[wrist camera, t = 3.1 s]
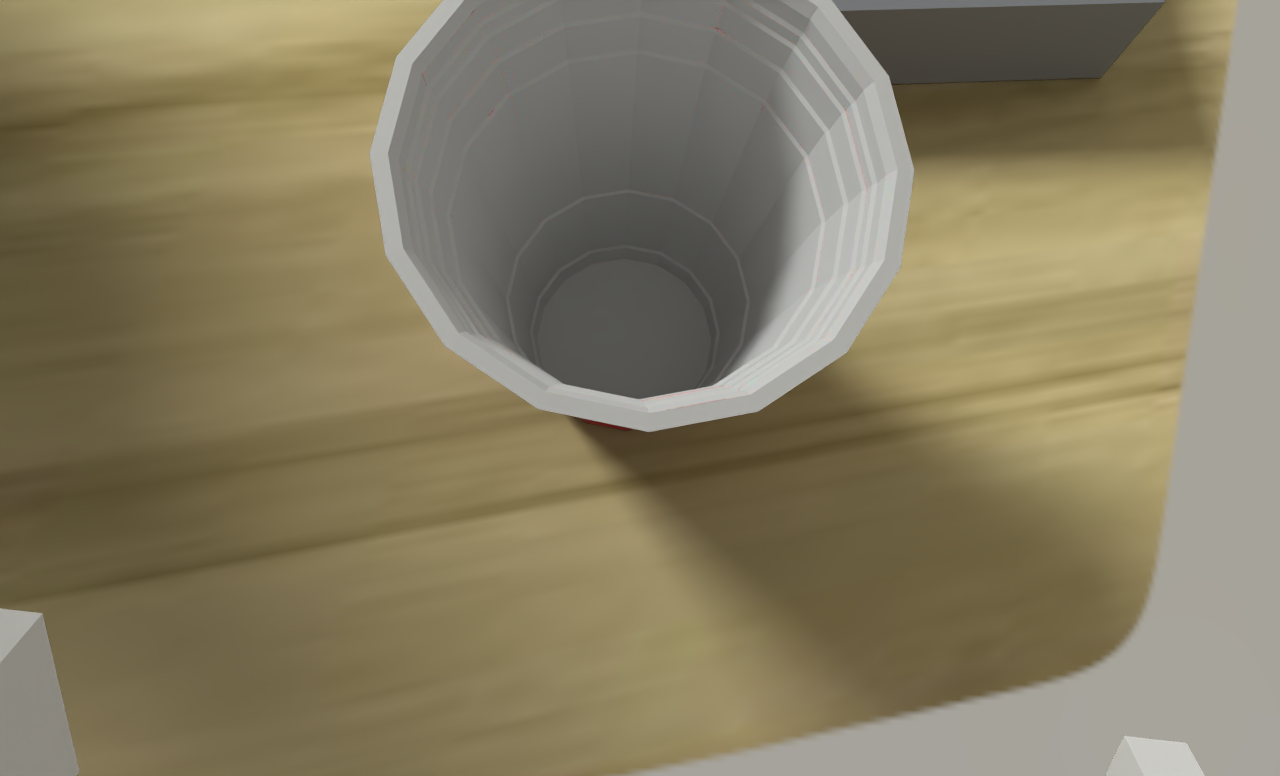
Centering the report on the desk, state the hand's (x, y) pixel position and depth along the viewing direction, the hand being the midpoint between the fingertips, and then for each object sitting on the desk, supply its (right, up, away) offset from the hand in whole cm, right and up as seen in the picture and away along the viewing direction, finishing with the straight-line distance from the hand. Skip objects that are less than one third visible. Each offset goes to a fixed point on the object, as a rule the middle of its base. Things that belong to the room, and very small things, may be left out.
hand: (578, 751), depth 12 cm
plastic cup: (0, +6, +19) cm, 19 cm away
